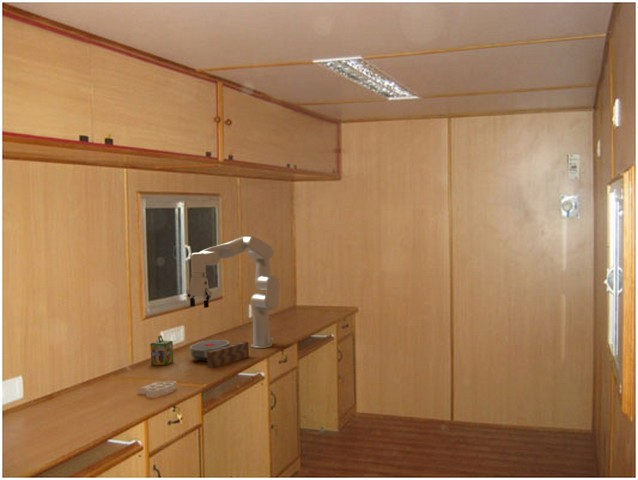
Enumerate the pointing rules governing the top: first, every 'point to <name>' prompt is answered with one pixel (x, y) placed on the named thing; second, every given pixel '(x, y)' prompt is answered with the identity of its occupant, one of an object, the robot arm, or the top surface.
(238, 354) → the walnut board
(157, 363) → the chalk box
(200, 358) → the first aid kit
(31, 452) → the top surface
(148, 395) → the white muffin tray
